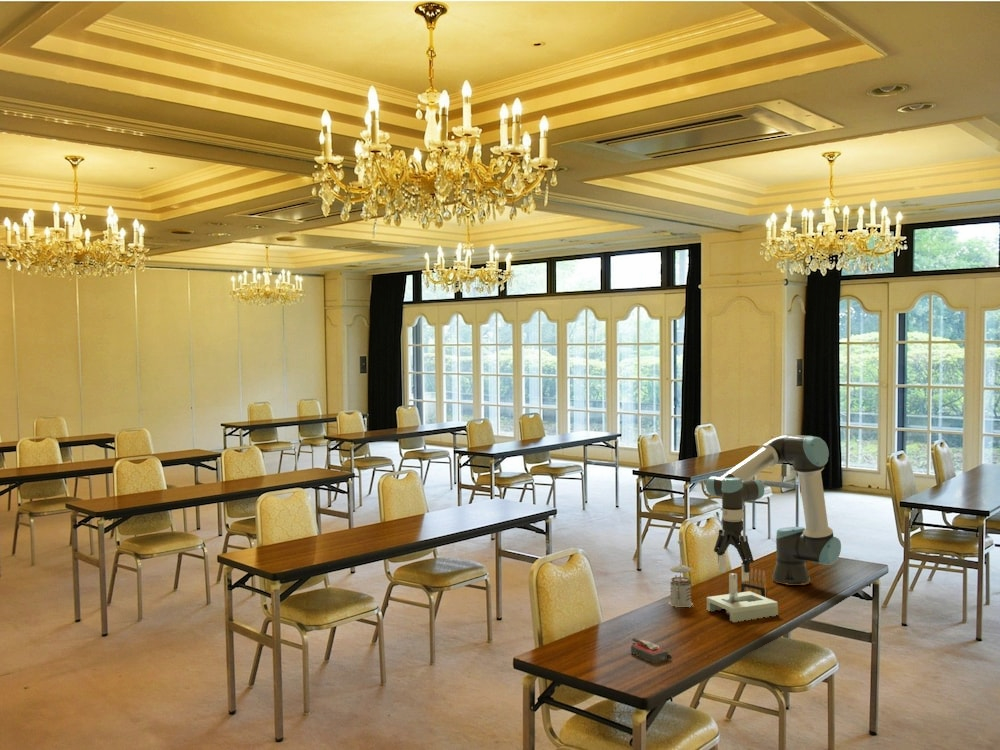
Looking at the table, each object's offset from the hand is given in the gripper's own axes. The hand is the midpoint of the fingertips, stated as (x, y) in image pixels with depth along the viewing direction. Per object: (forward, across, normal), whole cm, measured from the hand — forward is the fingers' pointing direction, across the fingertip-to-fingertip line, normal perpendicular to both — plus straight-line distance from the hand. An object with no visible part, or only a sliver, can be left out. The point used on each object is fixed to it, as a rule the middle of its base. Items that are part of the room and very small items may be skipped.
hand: (733, 576), depth 304 cm
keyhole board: (+14, 0, +3) cm, 15 cm away
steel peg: (+14, 0, 0) cm, 14 cm away
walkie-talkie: (+14, +22, -52) cm, 58 cm away
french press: (+14, -18, -12) cm, 26 cm away
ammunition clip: (+15, -14, +20) cm, 29 cm away
